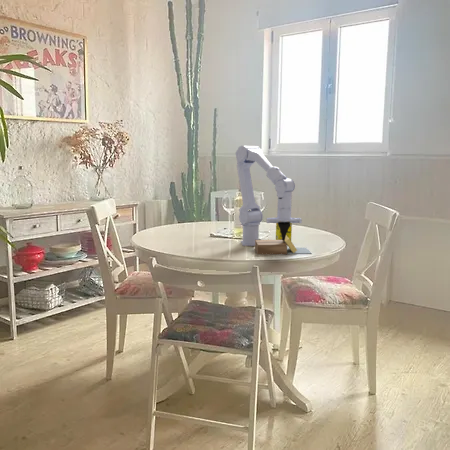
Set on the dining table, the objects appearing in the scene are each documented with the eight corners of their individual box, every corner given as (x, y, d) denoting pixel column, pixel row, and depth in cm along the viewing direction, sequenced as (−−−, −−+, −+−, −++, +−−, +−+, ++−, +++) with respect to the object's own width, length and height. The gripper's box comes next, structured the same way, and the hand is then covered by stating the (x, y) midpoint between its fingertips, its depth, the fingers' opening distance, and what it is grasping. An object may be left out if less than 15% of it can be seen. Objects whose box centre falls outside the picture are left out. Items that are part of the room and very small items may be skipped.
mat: (283, 248, 211) (283, 247, 211) (305, 248, 212) (305, 247, 212) (287, 253, 200) (287, 253, 200) (311, 253, 201) (311, 253, 201)
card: (282, 237, 208) (286, 235, 208) (289, 248, 209) (293, 246, 209) (285, 241, 200) (289, 238, 200) (293, 253, 201) (297, 250, 201)
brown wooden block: (254, 248, 210) (255, 239, 209) (282, 248, 210) (282, 239, 210) (257, 254, 199) (258, 244, 198) (286, 254, 199) (287, 244, 199)
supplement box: (279, 243, 222) (279, 219, 220) (275, 240, 228) (275, 217, 226) (291, 242, 223) (292, 219, 221) (287, 240, 229) (288, 217, 227)
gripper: (268, 209, 197) (267, 241, 200) (303, 209, 198) (302, 241, 200) (266, 206, 204) (265, 238, 207) (300, 207, 205) (299, 238, 207)
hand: (283, 239), depth 204 cm, fingers closed, pressing on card
